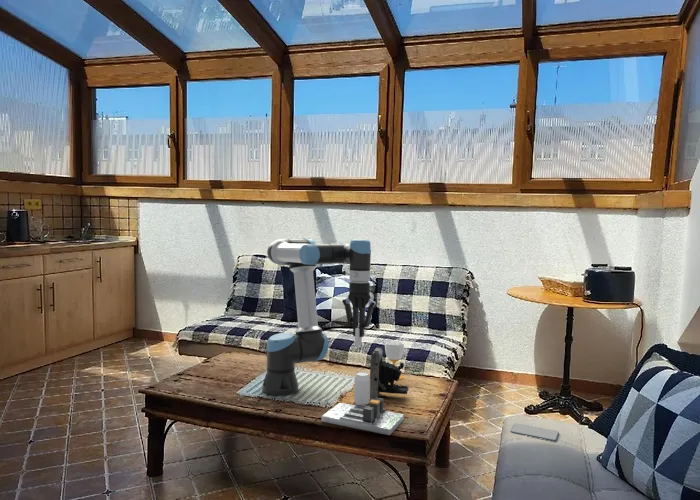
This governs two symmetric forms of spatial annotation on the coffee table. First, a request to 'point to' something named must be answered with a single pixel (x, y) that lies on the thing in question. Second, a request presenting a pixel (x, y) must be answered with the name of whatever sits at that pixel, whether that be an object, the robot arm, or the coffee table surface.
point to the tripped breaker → (375, 407)
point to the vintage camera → (384, 376)
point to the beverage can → (362, 388)
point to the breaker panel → (361, 426)
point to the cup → (394, 351)
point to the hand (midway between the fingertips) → (358, 345)
